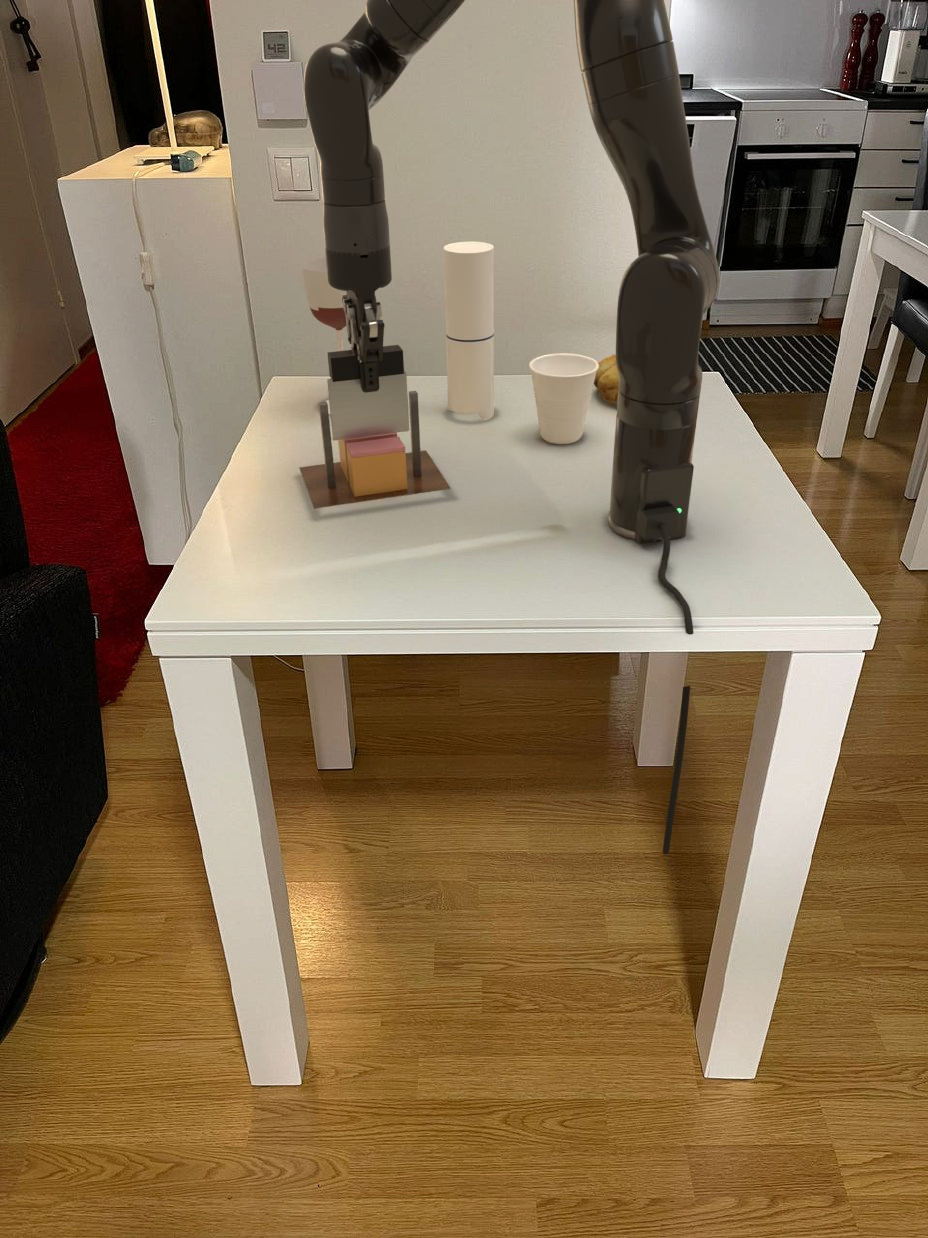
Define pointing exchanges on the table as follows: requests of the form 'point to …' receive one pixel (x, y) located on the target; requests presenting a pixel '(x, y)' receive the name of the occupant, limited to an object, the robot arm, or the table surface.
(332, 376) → the black handled scraper
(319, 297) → the wineglass
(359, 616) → the table surface
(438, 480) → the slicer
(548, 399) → the cup
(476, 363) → the cylindrical container
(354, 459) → the cake
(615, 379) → the bread roll
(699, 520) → the table surface
